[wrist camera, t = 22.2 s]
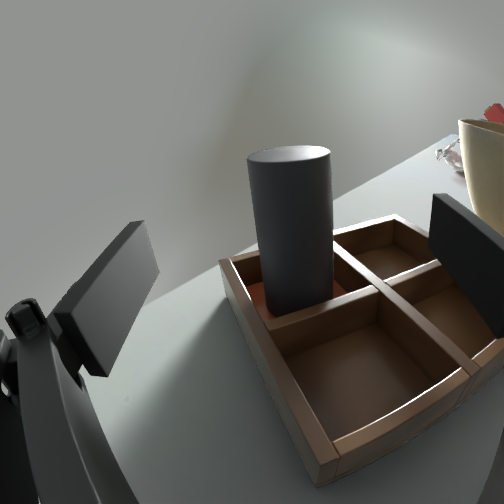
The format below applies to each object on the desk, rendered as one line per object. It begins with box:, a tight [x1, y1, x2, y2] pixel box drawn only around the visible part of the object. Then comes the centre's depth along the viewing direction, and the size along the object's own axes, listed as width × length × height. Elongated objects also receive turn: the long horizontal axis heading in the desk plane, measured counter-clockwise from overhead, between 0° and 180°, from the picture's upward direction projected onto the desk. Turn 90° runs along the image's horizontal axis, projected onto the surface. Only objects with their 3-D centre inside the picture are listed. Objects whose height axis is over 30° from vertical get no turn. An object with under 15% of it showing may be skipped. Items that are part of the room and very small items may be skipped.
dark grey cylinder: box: [247, 146, 334, 318], centre depth 19 cm, size 5×5×10 cm
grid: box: [219, 215, 504, 488], centre depth 18 cm, size 16×16×3 cm
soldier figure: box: [435, 139, 464, 171], centre depth 49 cm, size 8×5×12 cm
